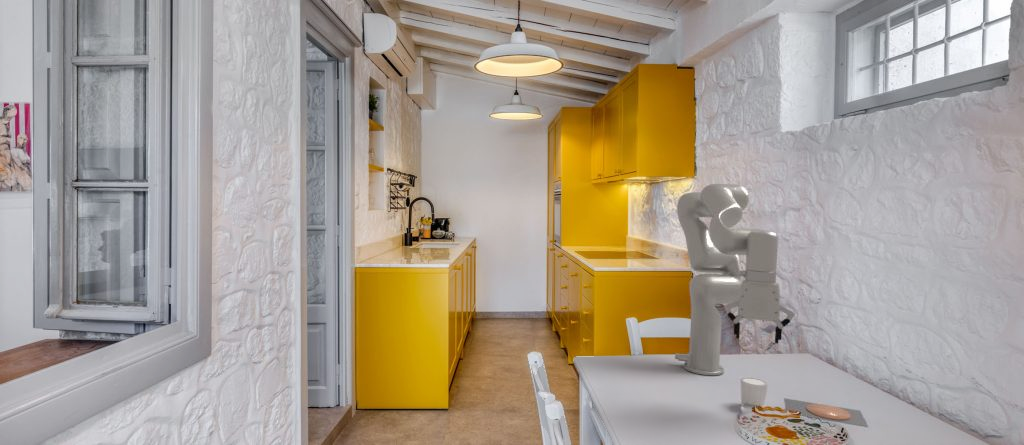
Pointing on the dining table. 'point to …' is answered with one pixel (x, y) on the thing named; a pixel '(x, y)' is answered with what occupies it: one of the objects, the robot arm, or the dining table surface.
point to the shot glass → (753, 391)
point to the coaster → (828, 412)
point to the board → (802, 407)
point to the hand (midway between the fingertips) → (756, 339)
